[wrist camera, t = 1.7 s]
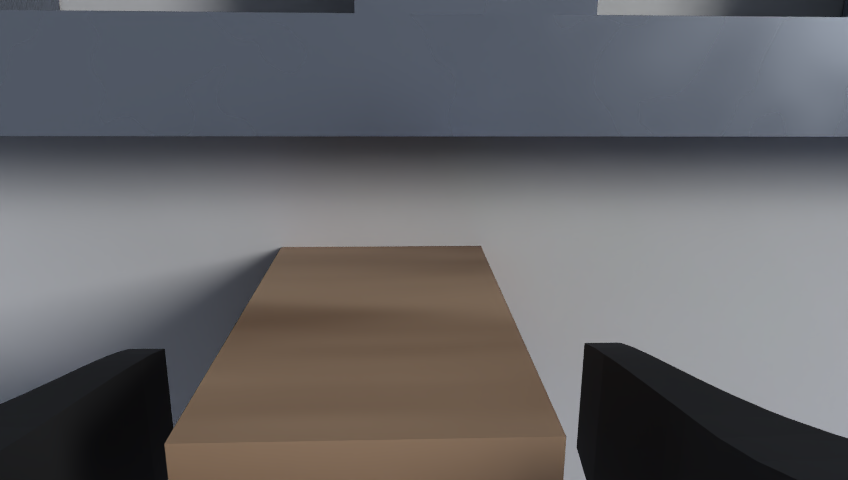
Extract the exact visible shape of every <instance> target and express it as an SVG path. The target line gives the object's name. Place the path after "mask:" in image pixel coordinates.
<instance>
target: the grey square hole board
mask: <svg viewBox="0 0 848 480" xmlns="http://www.w3.org/2000/svg"><path fill="white" fill-rule="evenodd" d="M597 4H598V0H354V13H285V12H166V11H60V8H59V0H0V136H628V137H848V0H845V3H844V9H843V15H842V17H762V16H643V15H597Z"/></svg>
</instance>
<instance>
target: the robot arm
mask: <svg viewBox="0 0 848 480" xmlns="http://www.w3.org/2000/svg"><path fill="white" fill-rule="evenodd" d="M172 430H173V422H172V413H171V404H170V394H169V385H168V376H167V366H166V357H165V349H128V350H124V351H120V352H117V353H114V354H111V355H109V356H106V357H104V358H102V359H99V360H97V361H95V362H92V363H90V364H88V365H86V366H83V367H81V368H79V369H77V370H75V371H73V372H70V373H68V374H66V375H64V376H62V377H60V378H58V379H55V380H53V381H51V382H49V383H47V384H45V385H43V386H40V387H38V388H36V389H34V390H32V391H30V392H27V393H25V394H23V395H21V396H18V397H16V398H14V399H11V400H9V401H7V402H4V403H2V404H0V480H168V472H167V463H166V454H165V445H164V444H165V442H166V440H167V439H168V437H169V435H170V434H171V432H172ZM577 450H578V453H579V457H580V460H581V463H582V467H583V470H584V474H585V477H586V480H848V438H845V437H841V436H838V435H835V434H832V433H829V432H826V431H823V430H820V429H817V428H815V427H812V426H809V425H806V424H803V423H800V422H797V421H795V420H792V419H789V418H786V417H784V416H781V415H779V414H776V413H773V412H771V411H768V410H766V409H764V408H761V407H759V406H757V405H754V404H752V403H750V402H747V401H745V400H743V399H740V398H738V397H736V396H733V395H731V394H729V393H727V392H725V391H723V390H720V389H718V388H716V387H714V386H712V385H710V384H708V383H706V382H704V381H701V380H699V379H697V378H695V377H693V376H691V375H689V374H687V373H685V372H683V371H681V370H679V369H677V368H675V367H673V366H671V365H669V364H667V363H665V362H663V361H661V360H659V359H657V358H655V357H653V356H651V355H649V354H647V353H645V352H642V351H640V350H638V349H636V348H633V347H631V346H628V345H625V344H622V343H585V346H584V359H583V372H582V385H581V398H580V411H579V424H578V438H577Z"/></svg>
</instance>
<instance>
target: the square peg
mask: <svg viewBox="0 0 848 480" xmlns="http://www.w3.org/2000/svg"><path fill="white" fill-rule="evenodd" d="M164 445H165V454H166V463H167V472H168V480H563V475H564V461H565V446H566V435H565V433H564V431H563V428H562V426H561V424H560V422H559V419H558V417H557V415H556V413H555V410H554V408H553V406H552V404H551V402H550V399H549V397H548V395H547V393H546V390H545V388H544V386H543V384H542V382H541V379H540V377H539V375H538V373H537V370H536V368H535V366H534V364H533V362H532V359H531V357H530V355H529V353H528V350H527V348H526V346H525V344H524V341H523V339H522V337H521V335H520V333H519V330H518V328H517V326H516V324H515V321H514V319H513V317H512V315H511V313H510V310H509V308H508V306H507V304H506V301H505V299H504V297H503V295H502V292H501V290H500V288H499V286H498V284H497V281H496V279H495V277H494V275H493V272H492V270H491V268H490V266H489V264H488V261H487V259H486V257H485V255H484V252H483V250H482V248H481V246H405V247H281V249H280V251H279V252H278V254H277V256H276V257H275V259H274V261H273V262H272V264H271V266H270V267H269V269H268V271H267V272H266V274H265V276H264V277H263V279H262V281H261V282H260V284H259V286H258V287H257V289H256V291H255V292H254V294H253V296H252V298H251V299H250V301H249V303H248V304H247V306H246V308H245V309H244V311H243V313H242V314H241V316H240V318H239V319H238V321H237V323H236V324H235V326H234V328H233V329H232V331H231V333H230V334H229V336H228V338H227V339H226V341H225V343H224V345H223V346H222V348H221V350H220V351H219V353H218V355H217V356H216V358H215V360H214V361H213V363H212V365H211V366H210V368H209V370H208V371H207V373H206V375H205V376H204V378H203V380H202V381H201V383H200V385H199V387H198V388H197V390H196V392H195V393H194V395H193V397H192V398H191V400H190V402H189V403H188V405H187V407H186V408H185V410H184V412H183V413H182V415H181V417H180V418H179V420H178V422H177V423H176V425H175V427H174V428H173V430H172V432H171V434H170V435H169V437H168V439H167V440H166V442H165V444H164Z"/></svg>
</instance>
